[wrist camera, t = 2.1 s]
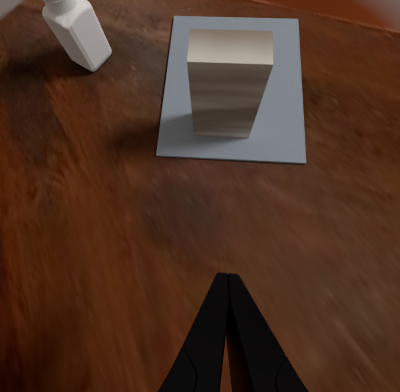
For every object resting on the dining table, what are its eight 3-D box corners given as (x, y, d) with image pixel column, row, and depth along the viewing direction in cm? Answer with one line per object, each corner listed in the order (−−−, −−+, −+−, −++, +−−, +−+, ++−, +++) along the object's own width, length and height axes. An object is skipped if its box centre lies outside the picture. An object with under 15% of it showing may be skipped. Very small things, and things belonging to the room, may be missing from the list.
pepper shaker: (115, 53, 30) (75, -38, 21) (94, 75, 29) (43, -10, 20) (91, 40, 31) (42, -54, 22) (70, 61, 30) (10, -27, 21)
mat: (305, 164, 25) (306, 162, 25) (156, 156, 26) (156, 155, 26) (297, 21, 31) (298, 18, 30) (174, 18, 31) (174, 16, 31)
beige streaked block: (248, 138, 26) (273, 64, 16) (194, 135, 26) (186, 61, 17) (249, 114, 27) (272, 31, 17) (196, 112, 27) (190, 28, 17)
